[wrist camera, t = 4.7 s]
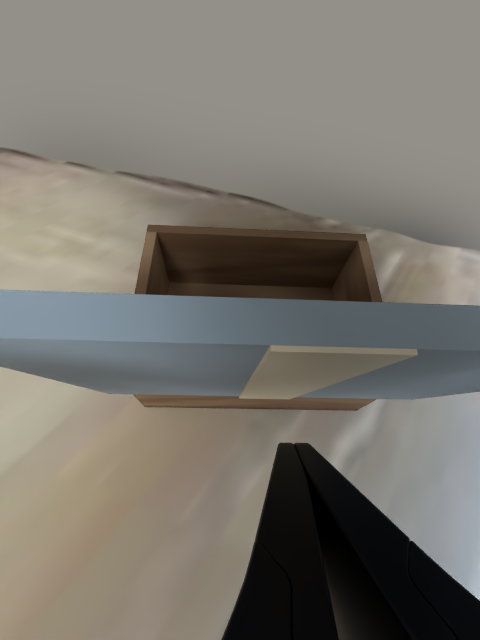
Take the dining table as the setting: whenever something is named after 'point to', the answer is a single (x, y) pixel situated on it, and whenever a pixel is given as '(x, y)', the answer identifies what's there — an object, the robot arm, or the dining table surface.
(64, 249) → the dining table surface
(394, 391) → the box lid
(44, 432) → the dining table surface
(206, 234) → the walnut box
